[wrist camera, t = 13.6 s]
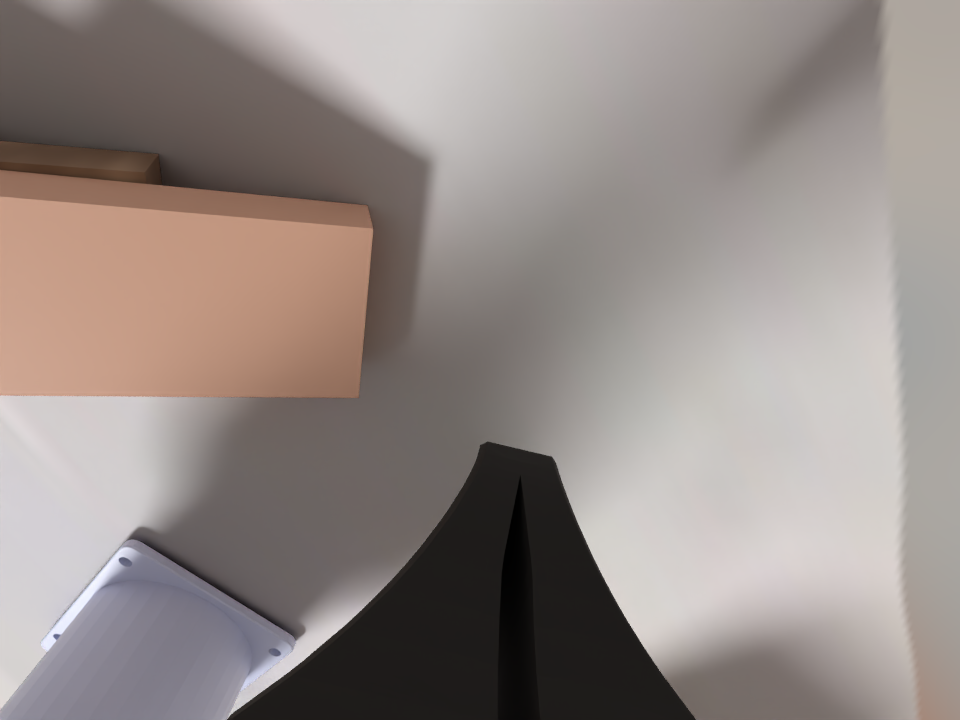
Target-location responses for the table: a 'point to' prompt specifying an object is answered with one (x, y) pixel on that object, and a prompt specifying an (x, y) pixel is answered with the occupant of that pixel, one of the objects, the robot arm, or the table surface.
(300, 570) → the table surface
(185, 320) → the terracotta tile
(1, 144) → the walnut tile
